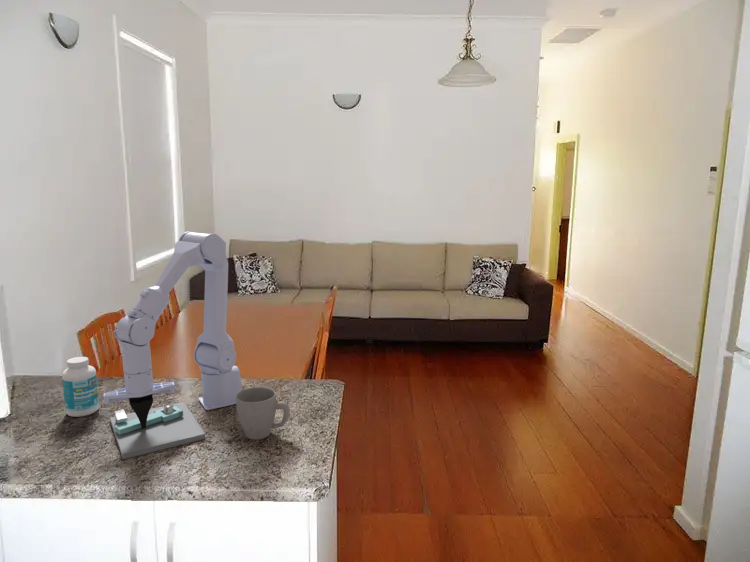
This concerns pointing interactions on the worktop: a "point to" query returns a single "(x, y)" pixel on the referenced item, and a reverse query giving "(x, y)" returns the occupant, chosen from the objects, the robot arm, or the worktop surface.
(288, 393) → the worktop surface
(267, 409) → the mug
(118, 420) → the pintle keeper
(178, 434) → the board
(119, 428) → the link
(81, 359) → the pill bottle
